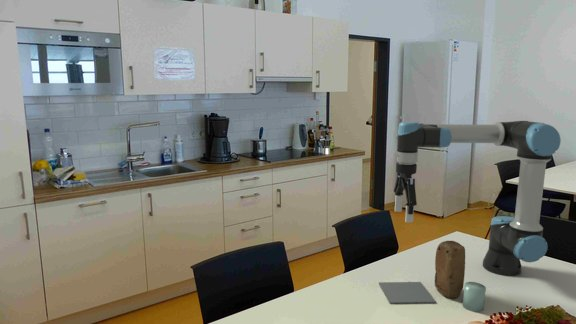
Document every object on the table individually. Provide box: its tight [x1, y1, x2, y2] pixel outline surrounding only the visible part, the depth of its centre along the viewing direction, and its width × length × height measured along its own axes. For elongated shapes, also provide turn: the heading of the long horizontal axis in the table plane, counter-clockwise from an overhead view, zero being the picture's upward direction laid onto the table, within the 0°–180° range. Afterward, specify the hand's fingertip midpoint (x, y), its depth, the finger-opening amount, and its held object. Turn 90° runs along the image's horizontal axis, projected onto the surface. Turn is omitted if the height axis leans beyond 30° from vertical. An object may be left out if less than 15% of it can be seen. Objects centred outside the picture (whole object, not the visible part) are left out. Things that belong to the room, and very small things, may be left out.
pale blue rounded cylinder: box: [462, 281, 487, 313], centre depth 154 cm, size 7×7×8 cm
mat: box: [378, 281, 437, 305], centre depth 164 cm, size 17×16×1 cm
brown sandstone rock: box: [434, 240, 466, 299], centre depth 163 cm, size 11×8×20 cm
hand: (403, 216), depth 167 cm, fingers open, 13 cm apart
